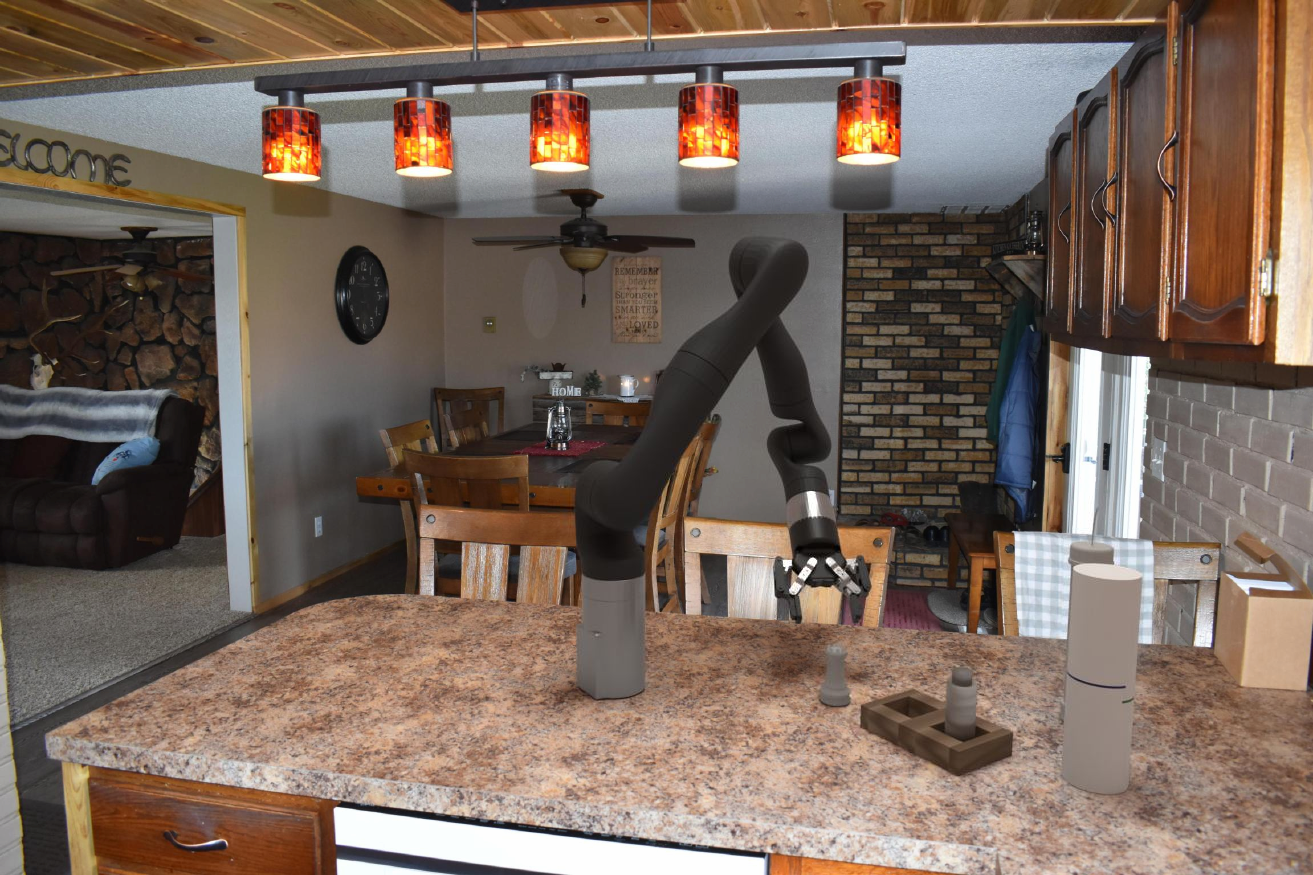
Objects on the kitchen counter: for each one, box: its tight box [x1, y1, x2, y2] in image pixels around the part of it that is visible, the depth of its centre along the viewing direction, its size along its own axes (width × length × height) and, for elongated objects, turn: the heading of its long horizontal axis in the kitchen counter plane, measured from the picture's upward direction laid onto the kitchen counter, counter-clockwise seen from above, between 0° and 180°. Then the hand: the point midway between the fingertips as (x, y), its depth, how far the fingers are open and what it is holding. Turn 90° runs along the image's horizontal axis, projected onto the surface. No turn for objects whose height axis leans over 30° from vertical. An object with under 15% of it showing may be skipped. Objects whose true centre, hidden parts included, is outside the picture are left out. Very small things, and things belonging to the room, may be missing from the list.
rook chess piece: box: [818, 643, 852, 707], centre depth 130 cm, size 4×4×8 cm
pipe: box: [1059, 506, 1115, 723], centre depth 121 cm, size 6×6×30 cm
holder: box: [859, 666, 1014, 777], centre depth 117 cm, size 16×10×11 cm, turn 32°
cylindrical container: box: [1060, 563, 1144, 795], centre depth 106 cm, size 7×7×25 cm
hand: (828, 621), depth 134 cm, fingers open, 8 cm apart
